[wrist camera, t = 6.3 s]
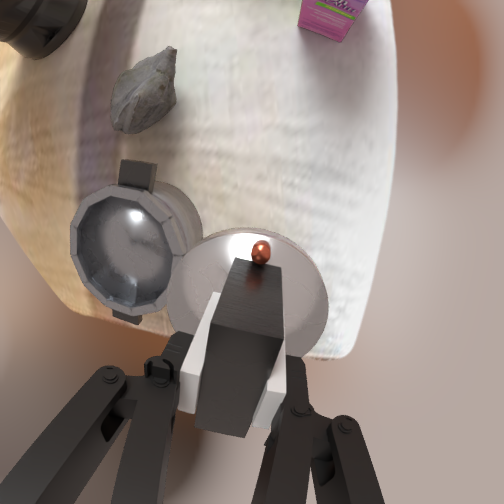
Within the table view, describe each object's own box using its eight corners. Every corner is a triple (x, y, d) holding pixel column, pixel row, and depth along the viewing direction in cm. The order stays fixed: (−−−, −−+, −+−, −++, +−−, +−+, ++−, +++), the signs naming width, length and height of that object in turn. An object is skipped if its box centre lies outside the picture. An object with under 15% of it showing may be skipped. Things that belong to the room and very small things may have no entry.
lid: (169, 341, 20) (129, 419, 12) (182, 211, 16) (114, 258, 9) (298, 370, 20) (303, 457, 12) (346, 249, 16) (393, 321, 9)
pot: (108, 280, 37) (74, 309, 29) (118, 152, 31) (75, 155, 22) (193, 306, 37) (172, 346, 28) (218, 170, 31) (197, 174, 22)
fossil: (153, 48, 26) (123, 26, 18) (210, 71, 27) (191, 48, 19) (110, 121, 29) (73, 117, 22) (163, 150, 30) (131, 150, 23)
